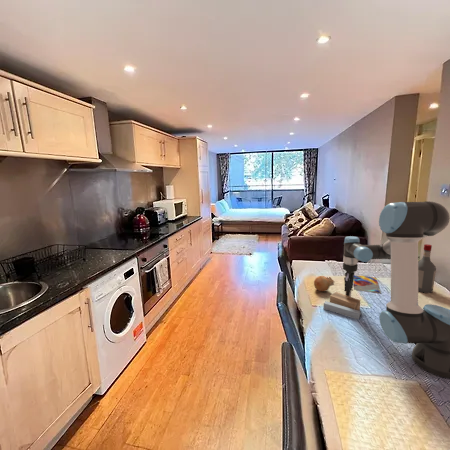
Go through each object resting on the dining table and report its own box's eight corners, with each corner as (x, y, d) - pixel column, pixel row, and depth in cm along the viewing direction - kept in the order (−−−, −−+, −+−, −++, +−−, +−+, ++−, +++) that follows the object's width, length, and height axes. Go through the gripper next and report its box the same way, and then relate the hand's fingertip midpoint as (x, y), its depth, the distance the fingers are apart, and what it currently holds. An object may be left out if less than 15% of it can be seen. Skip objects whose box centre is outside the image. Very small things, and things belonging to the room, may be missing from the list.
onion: (327, 295, 156) (327, 280, 154) (311, 291, 162) (311, 277, 160) (331, 289, 163) (332, 275, 161) (316, 286, 169) (316, 272, 167)
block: (353, 314, 134) (354, 304, 133) (329, 304, 145) (330, 295, 144) (359, 310, 138) (360, 300, 137) (335, 301, 149) (336, 291, 148)
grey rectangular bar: (358, 319, 129) (358, 313, 128) (323, 308, 140) (323, 303, 140) (359, 317, 131) (360, 311, 131) (325, 306, 143) (325, 301, 142)
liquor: (417, 292, 156) (423, 246, 150) (410, 286, 165) (415, 242, 159) (434, 293, 154) (441, 247, 148) (426, 287, 162) (432, 243, 157)
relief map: (381, 294, 156) (381, 291, 156) (354, 290, 162) (354, 287, 162) (376, 279, 178) (376, 276, 178) (352, 276, 185) (352, 273, 185)
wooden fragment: (325, 292, 161) (325, 290, 160) (309, 287, 168) (309, 286, 168) (339, 279, 179) (339, 278, 179) (324, 276, 186) (324, 274, 186)
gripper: (354, 267, 134) (351, 307, 138) (360, 261, 143) (357, 298, 148) (340, 265, 138) (337, 303, 143) (346, 258, 148) (344, 295, 153)
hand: (347, 301), depth 145 cm, fingers closed
